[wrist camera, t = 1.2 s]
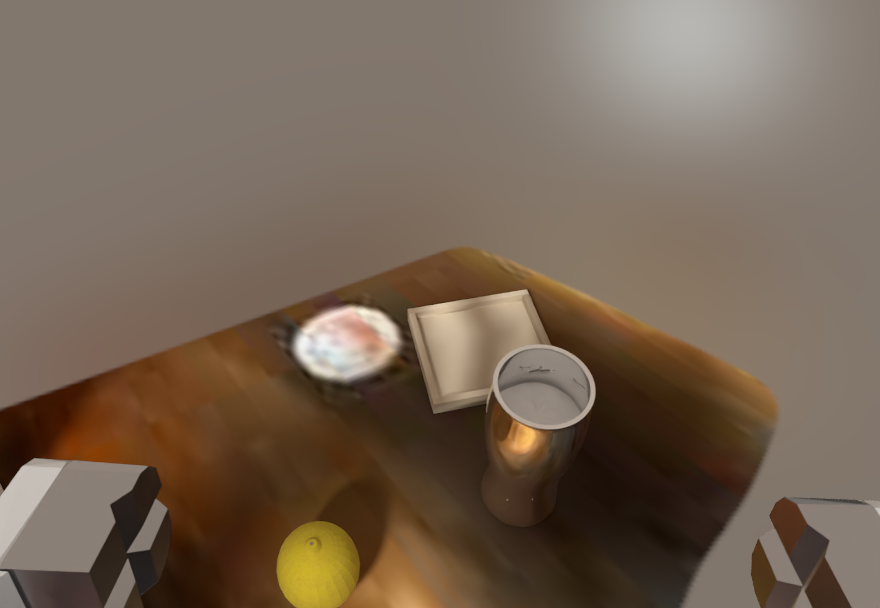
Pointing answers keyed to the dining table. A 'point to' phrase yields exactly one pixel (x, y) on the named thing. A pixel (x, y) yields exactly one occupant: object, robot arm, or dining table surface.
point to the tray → (470, 344)
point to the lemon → (318, 566)
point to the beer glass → (533, 430)
